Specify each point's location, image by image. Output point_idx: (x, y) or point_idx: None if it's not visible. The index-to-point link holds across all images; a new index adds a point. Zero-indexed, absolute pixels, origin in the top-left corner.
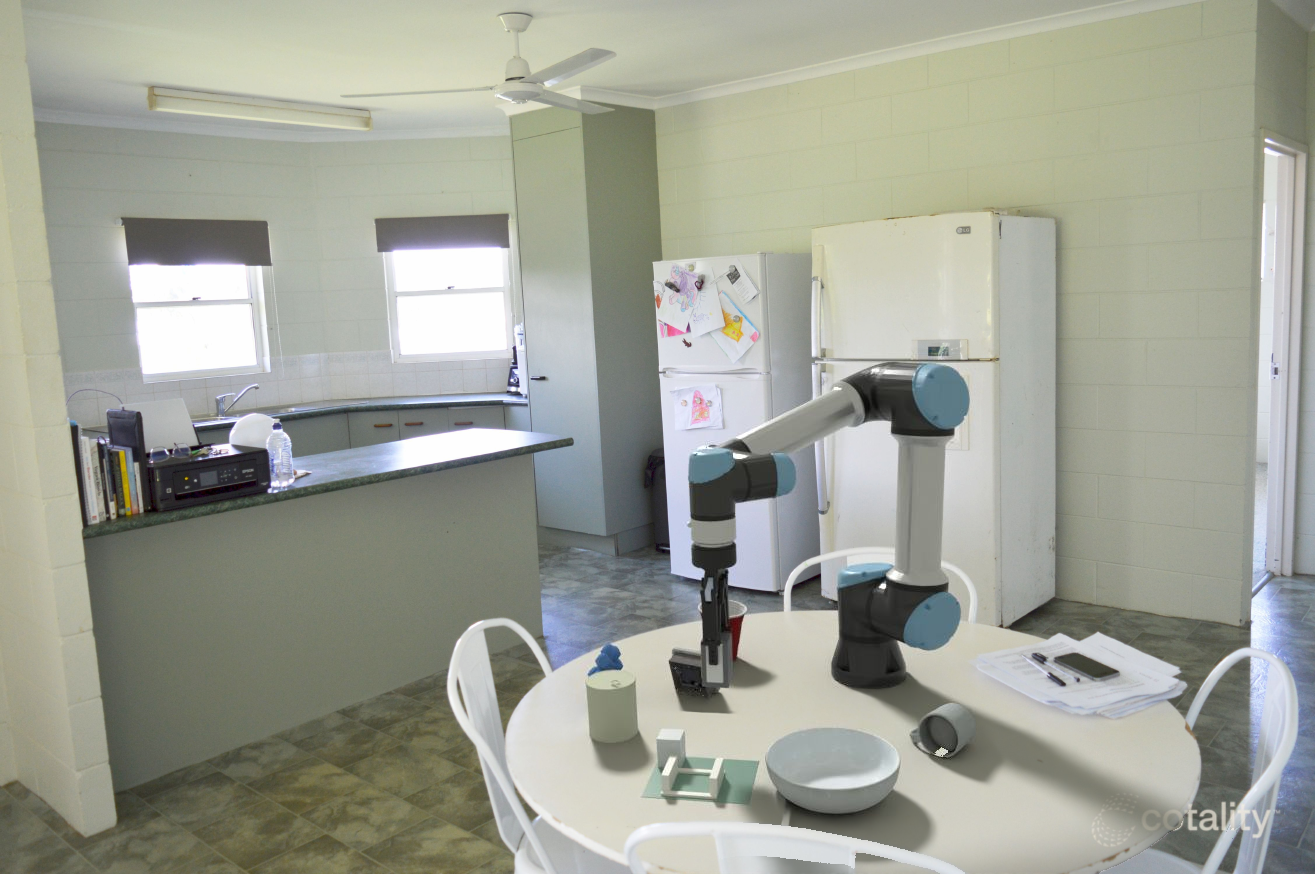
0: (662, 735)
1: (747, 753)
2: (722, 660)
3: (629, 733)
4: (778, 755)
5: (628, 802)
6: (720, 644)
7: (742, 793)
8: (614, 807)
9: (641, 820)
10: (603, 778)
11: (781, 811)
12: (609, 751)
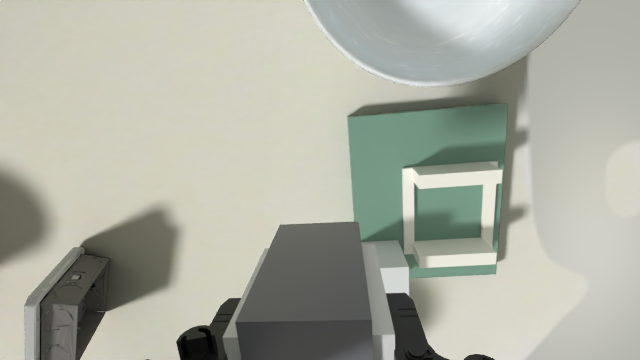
0: None
1: (294, 148)
2: (374, 285)
3: None
4: (393, 68)
5: (481, 285)
6: (382, 340)
7: (472, 121)
8: (497, 298)
9: (531, 255)
10: None
11: None
12: None
